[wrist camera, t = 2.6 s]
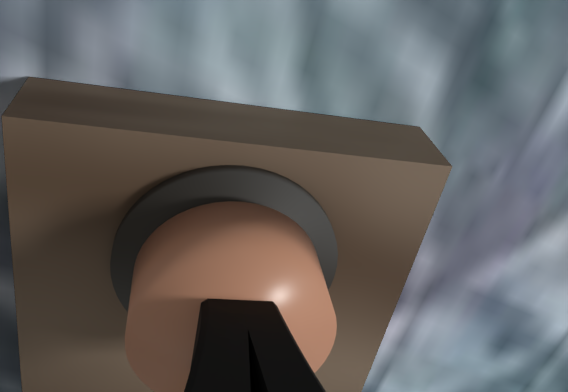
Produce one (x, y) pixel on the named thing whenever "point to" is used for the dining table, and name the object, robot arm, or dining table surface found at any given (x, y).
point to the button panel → (188, 194)
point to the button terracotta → (222, 285)
